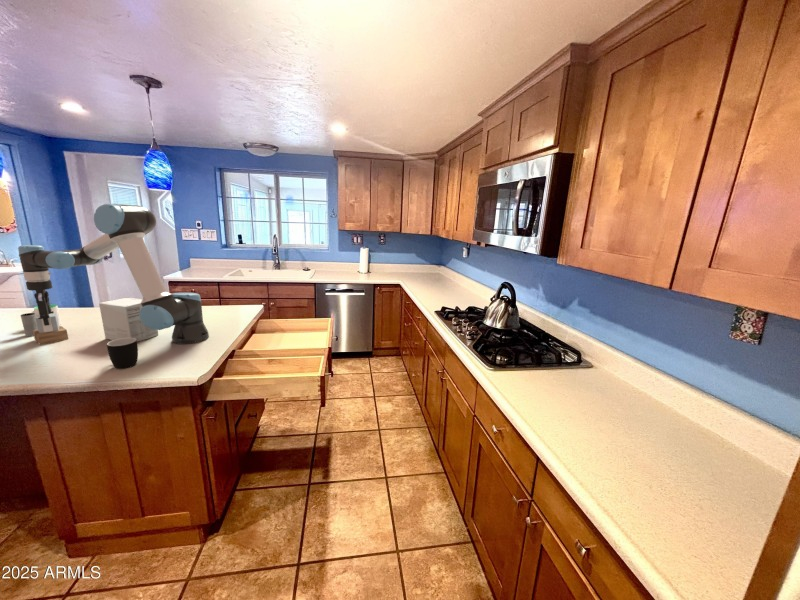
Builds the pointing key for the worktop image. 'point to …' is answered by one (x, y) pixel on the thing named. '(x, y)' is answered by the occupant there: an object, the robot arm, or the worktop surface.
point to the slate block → (53, 320)
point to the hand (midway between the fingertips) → (49, 329)
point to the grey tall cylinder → (29, 323)
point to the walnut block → (50, 336)
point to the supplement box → (124, 320)
